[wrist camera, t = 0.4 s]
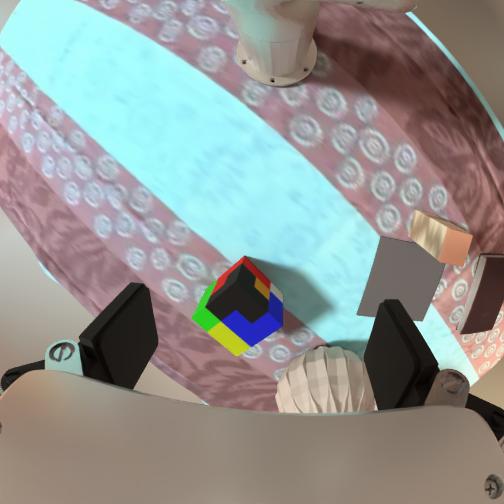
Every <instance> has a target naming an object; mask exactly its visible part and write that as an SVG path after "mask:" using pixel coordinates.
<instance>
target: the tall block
mask: <svg viewBox="0 0 504 504" xmlns="http://www.w3.org/2000/svg"><path fill="white" fill-rule="evenodd" d="M408 236H409V237H410V238H411V239H412V240H414V241H415V242H416V243H417V244H419V245H420V246H421V247H422V248H424V249H425V250H426V251H427V252H428V253H430V254H431V255H432V256H433V257H434V258H436V259H437V260H438V261H439V262H441V263H446V264H451V265H456V266H461V267H463V265H464V263H465V260H466V257H467V254H468V251H469V247H470V244H471V241H472V237H473V235H471V234H470V233H468V232H466V231H464V230H463V229H461V228H459V227H457V226H456V225H454V224H452V223H450V222H448V221H446V220H445V219H443V218H441V217H439V216H437V215H434V214H430V213H427V212H423V211H420V210H416V209H415V212H414V216H413V220H412V224H411V228H410V231H409V235H408Z"/></svg>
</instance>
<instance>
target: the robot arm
mask: <svg viewBox="0 0 504 504" xmlns="http://www.w3.org/2000/svg"><path fill="white" fill-rule="evenodd" d="M221 1H222V2H223V3H224V5H225V6H226V8H227V10H228V12H229V14H230V16H231V18H232V21H233V23H234V26H235V28H236V31H237V33H238V35H239V38H240V39H239V41H238V45H237V59H238V62H239V64H240V66H241V68H242V69H243V71H244V72H245V73H246V74H247V75H248V76H249V77H251V78H252V79H253V80H255V81H257V82H259V83H262V84H265V85H269V86H288V85H292V84H295V83H297V82H299V81H301V80H303V79H304V78H305V77H306V76H308V75H309V73H310V72H311V71H312V70H313V68H314V66H315V63H316V60H317V47H316V44H315V41H314V40H313V38H312V37H313V33H314V30H315V26H316V23H317V19H318V16H319V10H320V5H319V1H324V2H332V3H340V4H346V5H352V6H358V7H363V8H369V9H373V10H378V11H383V12H388V13H407V12H410V11H412V10H414V9H415V8H416V7H417V6H418V5H419V4H420V3H421V2H422V0H221ZM244 62H246V64H243V63H244ZM304 70H307V72H305V71H304ZM272 80H274V83H272V82H271V81H272ZM79 339H80V342H79V343H78V344H77V343H76V342H74V341H72V340H60V341H58V342H55V343H53V344H52V345H51V346H50V347H48V349H47V351H46V354H45V360H42V361H38V362H34V363H30V364H27V365H23V366H19V367H15V368H12V369H9V370H8V371H7V372H6V373H5V374H4V375H3V377H2V379H1V385H0V504H504V410H503V409H501V408H500V407H498V406H495V405H493V404H491V403H489V402H487V401H485V400H483V399H480V398H478V397H476V396H474V395H472V394H470V393H469V389H470V384H469V381H468V379H467V378H466V377H465V376H464V375H463V374H462V373H461V372H459V371H457V370H453V369H444V370H441V371H440V370H439V368H438V362H437V360H436V359H435V357H434V355H433V353H432V352H431V350H430V348H429V346H428V345H427V343H426V341H425V340H424V338H423V336H422V335H421V333H420V332H419V330H418V328H417V327H416V325H415V324H414V322H413V320H412V319H411V317H410V316H409V314H408V313H407V311H406V310H405V308H404V306H403V305H402V303H401V302H400V300H398V299H385V300H384V301H383V303H380V304H379V307H378V311H377V314H376V318H375V321H374V325H373V328H372V332H371V335H370V338H369V341H368V344H367V347H366V351H365V354H364V363H365V366H366V369H367V373H368V376H369V380H370V383H371V386H372V390H373V393H374V397H375V401H376V404H377V408H378V410H377V411H363V412H345V413H284V412H266V411H253V410H242V409H233V408H225V407H217V406H210V405H203V404H197V403H191V402H186V401H180V400H175V399H170V398H165V397H160V396H156V395H151V394H147V393H143V392H139V391H135V390H133V389H134V386H135V385H136V383H137V381H138V379H139V378H140V376H141V374H142V373H143V371H144V369H145V367H146V365H147V364H148V362H149V360H150V359H151V357H152V355H153V353H154V352H155V350H156V348H157V346H158V335H157V330H156V325H155V319H154V314H153V308H152V303H151V297H150V291H149V288H147V287H146V286H145V284H142V283H133V282H131V283H130V284H129V285H128V286H127V287H126V288H125V289H124V290H123V291H122V292H121V293H120V294H119V295H118V296H117V297H116V298H115V299H114V300H113V301H112V302H111V303H110V304H109V305H108V306H107V307H106V308H105V309H104V310H103V311H102V312H101V313H100V314H99V315H98V316H97V317H96V318H95V320H94V321H93V322H92V323H91V324H90V325H89V326H88V327H87V328H86V329H85V330H84V331H83V332H82V333H81V335H80V336H79Z"/></svg>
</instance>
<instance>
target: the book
mask: <svg viewBox="0 0 504 504" xmlns="http://www.w3.org/2000/svg"><path fill="white" fill-rule="evenodd" d="M503 301H504V254H490V253H482V254H480V256H479V260H478V264H477V268H476V271H475V275H474V279H473V282H472V286H471V289H470V293H469V296H468V299H467V302H466V305H465V308H464V311H463V313H462V316H461V318H460V321H459V323H458V325H457V328H456V330H457V329H458V330H459V331H460V332H461V333H460V334H472V333H478V332H483V331H488V330H492V328H493V326H494V324H495V321H496V319H497V316H498V314H499V311H500V308H501V306H502V303H503Z"/></svg>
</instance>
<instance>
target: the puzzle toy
mask: <svg viewBox="0 0 504 504" xmlns="http://www.w3.org/2000/svg"><path fill="white" fill-rule="evenodd" d="M192 319H193V320H194V321H195V322H196V323H197V324H198V325H200V326H201V327H202V328H203V329H204V330H205V331H207V332H208V333H209V334H210V335H211V336H212V337H214V338H215V339H216V340H217V341H218V342H220V343H221V344H222V345H223V346H224V347H226V348H227V349H228V350H229V351H230V352H232V353H233V354H234V355H235V356H238V355H240V354H241V353H243V352H245V351H246V350H248V349H249V348H251V347H252V346H254V345H255V344H257V343H258V342H260V341H261V340H263V339H264V338H266V337H267V336H269V335H270V334H272V333H273V332H275V331H276V330H278V329H279V328H281V327H282V326H283V293H282V292H281V291H280V290H279V289H278V288H277V287H276V286H275V285H274V284H273V283H272V282H271V281H270V280H269V279H268V278H267V277H266V276H265V275H264V274H263V273H262V272H261V271H260V270H259V269H258V268H257V267H256V266H255V265H254V264H253V263H252V262H251V261H250V260H249V259H248V258H247V257H246V256H243V257H242V258H241V259H240V260H239V261H238V262H237V263H235V264H234V265H233V266H232V267H231V268H230V269H229V270H227V271H226V272H225V273H224V274H223V275H222V276H221V277H219V278H218V279H217V280H216V281H215V282H214V283H213V284H211V285H210V286H209V287H208V288H207V289H206V291H205V293H204V295H203V297H202V299H201V301H200V303H199V304H198V306H197V308H196V310H195V312H194V314H193V316H192Z"/></svg>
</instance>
